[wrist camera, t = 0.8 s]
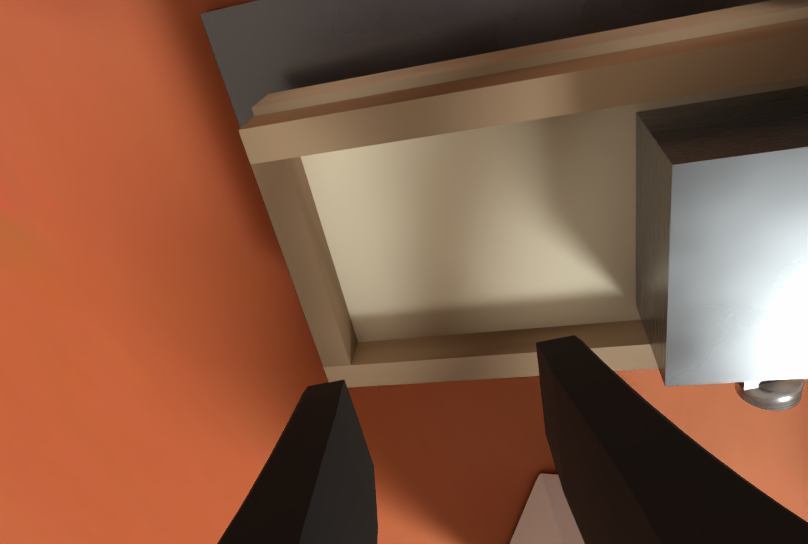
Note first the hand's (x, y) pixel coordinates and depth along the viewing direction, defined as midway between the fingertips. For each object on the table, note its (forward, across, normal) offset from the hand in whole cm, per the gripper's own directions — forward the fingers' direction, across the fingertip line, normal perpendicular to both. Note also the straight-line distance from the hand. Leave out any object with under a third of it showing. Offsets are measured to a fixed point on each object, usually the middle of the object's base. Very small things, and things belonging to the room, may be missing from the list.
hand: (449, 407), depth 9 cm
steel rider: (+5, -7, 0) cm, 9 cm away
